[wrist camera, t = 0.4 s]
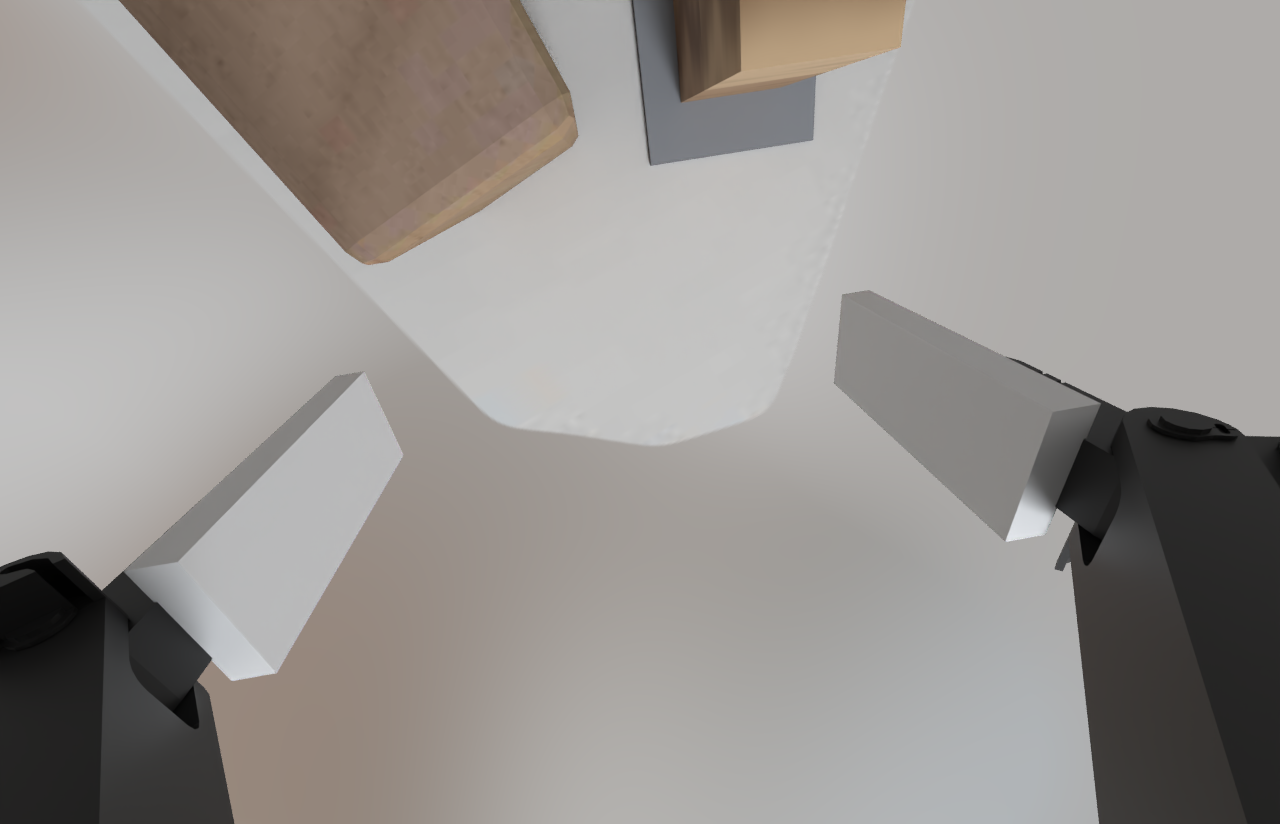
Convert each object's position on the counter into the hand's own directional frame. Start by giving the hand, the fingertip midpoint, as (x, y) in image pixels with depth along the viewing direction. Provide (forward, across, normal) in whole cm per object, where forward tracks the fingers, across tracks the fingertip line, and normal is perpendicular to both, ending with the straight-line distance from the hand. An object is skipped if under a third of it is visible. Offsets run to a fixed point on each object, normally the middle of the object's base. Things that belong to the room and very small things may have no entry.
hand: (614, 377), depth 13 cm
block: (+27, -6, +9) cm, 29 cm away
